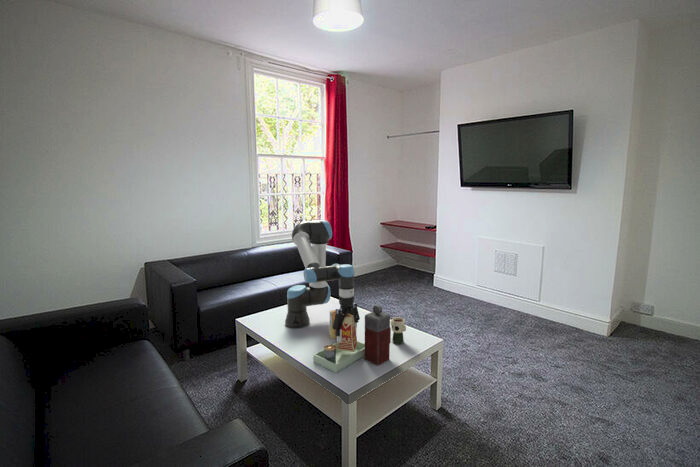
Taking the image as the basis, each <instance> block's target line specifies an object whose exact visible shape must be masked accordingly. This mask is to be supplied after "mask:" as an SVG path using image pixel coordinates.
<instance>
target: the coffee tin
mask: <svg viewBox="0 0 700 467" xmlns="http://www.w3.org/2000/svg"><path fill="white" fill-rule="evenodd" d="M324 349H325V359H326V360H328V361H330V362H333V363H335V364H336V346H335V345H333V344H330V343H329V344H326V345H324Z"/></svg>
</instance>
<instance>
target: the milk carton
mask: <svg viewBox="0 0 700 467" xmlns="http://www.w3.org/2000/svg"><path fill="white" fill-rule="evenodd" d="M343 315H344V314H343ZM341 330H342V342H341V343H340V342H338V341H337V342H338V345H337V350H341V351H349V352H355V349H356V347H357V341H358V339H357V328H356V329H355V322H354V317H353V315H351V314H347V315H346V317H345V318H344V321H343V324H342V327H341Z"/></svg>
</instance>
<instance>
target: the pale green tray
mask: <svg viewBox="0 0 700 467" xmlns="http://www.w3.org/2000/svg"><path fill="white" fill-rule="evenodd" d="M332 345H335V346H336V364H335V363H333V362H330V361H328V360H326V359H325V349H321V350H320V351H317V352H315V353H314V354H313V357H312V358H313V363H315V364H317V365H319V366H321V367H323V368H325V369H327V370H329V371H330V372H333V373H334V374H338V373H339V372H340V371H342V370H344V369H346V368H347V367H348V366H350V365H352V364H354V363H355V362H357V361H359V360H361V359H362V358H363V357H364V358H365V342H361V341H359V340H357V347H356V349H355V352H349V351H341V350H337V345H338V341H336V342H334V343H333V344H332Z"/></svg>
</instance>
